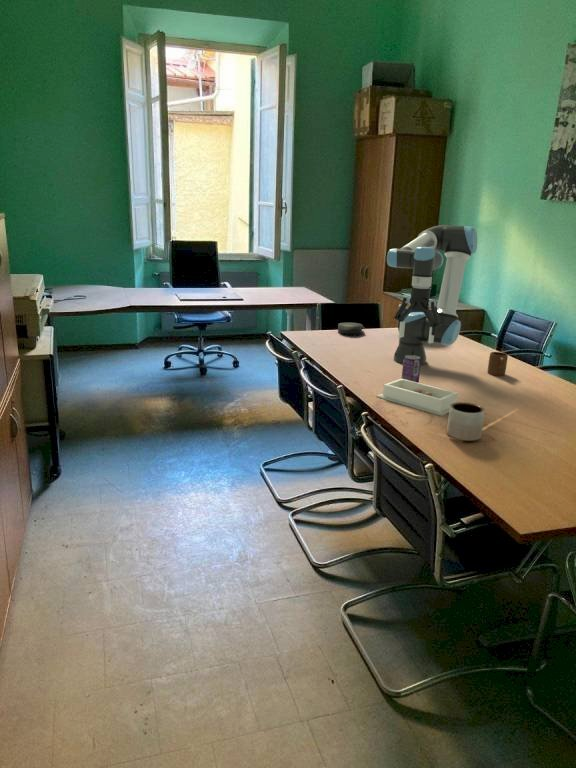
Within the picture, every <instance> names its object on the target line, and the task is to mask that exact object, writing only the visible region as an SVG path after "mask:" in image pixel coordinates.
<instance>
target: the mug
mask: <svg viewBox="0 0 576 768" xmlns="http://www.w3.org/2000/svg"><path fill="white" fill-rule="evenodd" d="M508 357H509V355H508V354H507V353H506V352H500V351H492V352H490V353H489V357H488V358H489V359H488V365H487V366H488V367H487V373H488V375H491V376H496V377H502V376H505V375H506V372H507V370H506V369H507V364H508Z"/></svg>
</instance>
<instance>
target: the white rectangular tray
mask: <svg viewBox="0 0 576 768" xmlns="http://www.w3.org/2000/svg"><path fill="white" fill-rule="evenodd" d="M458 396H459V393H458V392H457V391H456V392H455V391H451V390H448V389H445V388H440V387H436V386H432V385H428V384H425V383H421V382H419V383H417V382H413V381H409V380H406V379H402V378H400V379H395V380H392V381H390V382H388V383H384V384H383V390H382V393H379V394H377V395H375V397H376V398H377V399H378V398H379V399H382V400H386V401H387V402H388V401H389V402H391V403H395V404H399V405H402V406H406V407H409V408H413V409H416V410H420V411H423V412H427V413H429V414H430V413H431V414H433V415H438V416H440V417H443V416H445V415H447V414H449V410H450V405H451V404H453V403H458V402H457V401H458Z"/></svg>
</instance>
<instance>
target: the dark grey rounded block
mask: <svg viewBox="0 0 576 768" xmlns="http://www.w3.org/2000/svg"><path fill="white" fill-rule="evenodd" d="M363 330H365V327H364V325H363V324H362V323H360V322H359V323H357V322H340V323H338V324H337V333H338V334H339V335H342V336H346V337H360V336H361V335H363Z"/></svg>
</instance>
